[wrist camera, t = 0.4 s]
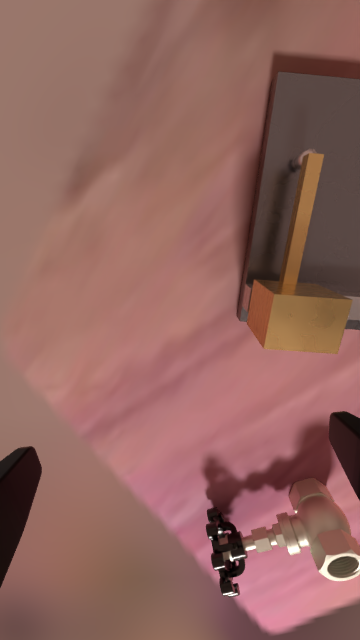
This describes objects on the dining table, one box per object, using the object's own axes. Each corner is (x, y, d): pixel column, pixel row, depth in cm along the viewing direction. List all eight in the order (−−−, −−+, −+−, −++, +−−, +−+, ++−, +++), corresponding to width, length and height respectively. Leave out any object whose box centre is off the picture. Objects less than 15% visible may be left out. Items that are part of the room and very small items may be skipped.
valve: (321, 460, 27) (202, 493, 28) (364, 533, 20) (209, 571, 22) (333, 507, 29) (223, 536, 30) (376, 586, 22) (234, 617, 24)
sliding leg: (332, 158, 17) (402, 128, 12) (296, 320, 20) (337, 353, 15) (267, 152, 17) (307, 119, 11) (241, 316, 20) (263, 348, 15)
